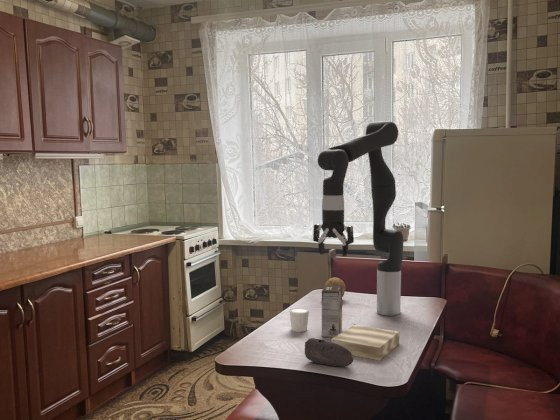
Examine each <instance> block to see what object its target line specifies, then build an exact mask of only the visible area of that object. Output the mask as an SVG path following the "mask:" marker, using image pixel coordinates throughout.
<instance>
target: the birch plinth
mask: <svg viewBox="0 0 560 420" xmlns="http://www.w3.org/2000/svg"><path fill="white" fill-rule="evenodd" d="M331 342H333V343H336V344H338V345H341V346H343V347H345V348H346V349H348V350H349V351H350V352H351V354H352V356H355V357H360V358H364V359H371V360H375V361H381V360H382V359H384V357H385V356H386V355H388V354H389V353H390V352H391V351H392V350H393V349H395V348H396V347H397V346H399V344H400V331H396V330H392V329H391V330H390V329H385V328H378V327H372V326H366V325H359V324H353V325H352V326H351V325H350V327H348V328H347V329H345V330H342V331H341V333H340V334H339V335H337V336H336V337H331Z"/></svg>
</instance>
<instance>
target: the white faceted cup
mask: <svg viewBox="0 0 560 420" xmlns="http://www.w3.org/2000/svg"><path fill="white" fill-rule="evenodd" d="M309 311H310V310H309V309H307V308H302V307H301V308H300V307H297V308H296V307H295V308H291V309H290V310H289V315H290V316H289V319H290V329H291V331H293V332H296V333H302V332H306V331H307V330H308V324H309V322H308V321H309V313H310V312H309Z"/></svg>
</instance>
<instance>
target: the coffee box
mask: <svg viewBox="0 0 560 420" xmlns="http://www.w3.org/2000/svg"><path fill="white" fill-rule="evenodd" d="M342 332H343V297H342V286H327V285H325V284H324V286H323V289H322V290H321V337H324V338H325V337H326V338H327V337H328V338H334V337H336V336H337V335H339V334H340V333H342Z"/></svg>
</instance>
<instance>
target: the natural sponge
mask: <svg viewBox="0 0 560 420" xmlns="http://www.w3.org/2000/svg"><path fill="white" fill-rule="evenodd" d="M325 285H327V286H342V298H343V297H344V295H345V292H346V284H345V282H344V281H343V280H342V279H341V278H339V277H335V276H334V277H331V278H329V279H328V280H327V281H326V282H325V284H324V286H325Z"/></svg>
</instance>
